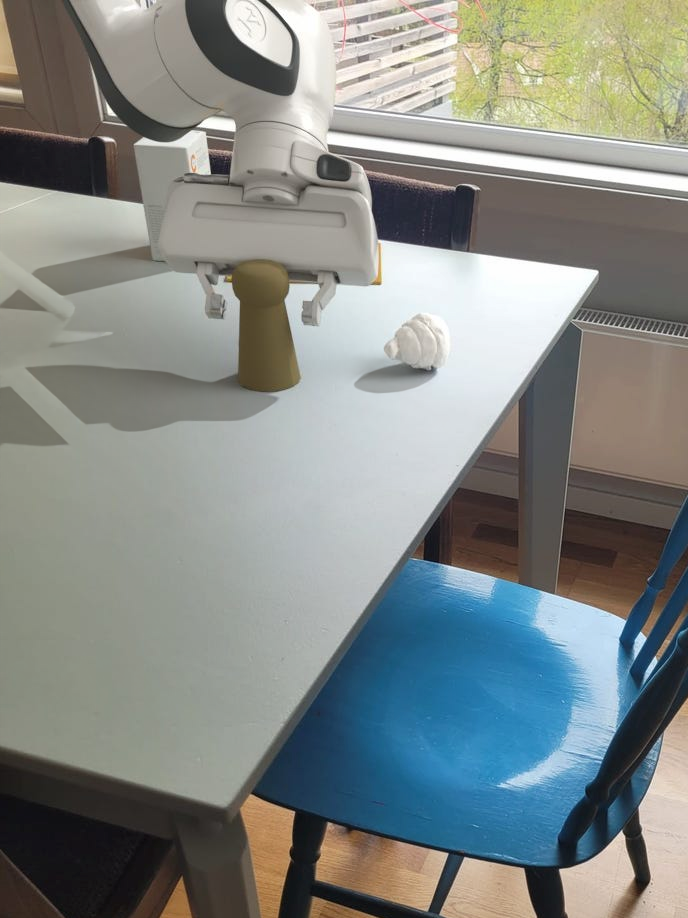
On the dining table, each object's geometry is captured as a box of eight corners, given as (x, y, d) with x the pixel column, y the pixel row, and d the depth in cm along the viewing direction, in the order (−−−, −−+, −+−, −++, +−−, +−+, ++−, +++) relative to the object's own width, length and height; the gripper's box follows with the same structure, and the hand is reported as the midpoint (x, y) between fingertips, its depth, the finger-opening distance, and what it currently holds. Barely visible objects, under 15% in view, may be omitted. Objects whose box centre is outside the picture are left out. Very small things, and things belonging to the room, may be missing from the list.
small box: (170, 239, 126) (154, 126, 118) (220, 243, 126) (207, 130, 118) (150, 260, 120) (131, 143, 112) (202, 264, 120) (187, 147, 111)
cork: (226, 374, 97) (212, 259, 90) (280, 359, 100) (270, 248, 93) (258, 397, 93) (246, 279, 86) (312, 381, 96) (305, 266, 89)
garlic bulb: (373, 366, 100) (372, 312, 96) (424, 354, 102) (425, 302, 99) (400, 387, 96) (400, 332, 93) (452, 374, 99) (454, 321, 96)
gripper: (158, 152, 91) (140, 296, 89) (380, 167, 90) (365, 313, 89) (180, 190, 97) (163, 325, 96) (387, 205, 97) (374, 341, 95)
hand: (262, 320), depth 92 cm, fingers open, 8 cm apart
